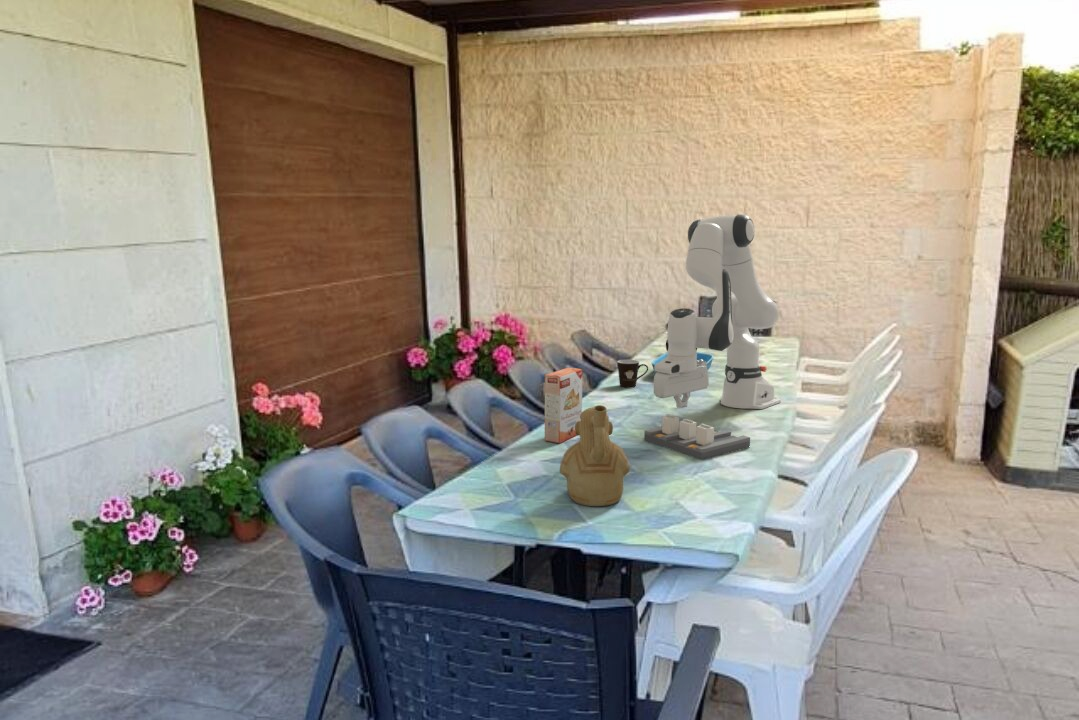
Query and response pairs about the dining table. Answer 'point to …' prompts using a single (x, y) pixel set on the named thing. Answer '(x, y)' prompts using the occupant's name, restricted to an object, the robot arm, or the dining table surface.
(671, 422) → the tab
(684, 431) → the white rectangular block
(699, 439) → the tab
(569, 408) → the cracker box
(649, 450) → the dining table surface
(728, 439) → the switch board
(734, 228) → the robot arm
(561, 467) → the ceramic vessel
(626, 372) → the coffee mug
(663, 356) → the casserole dish
